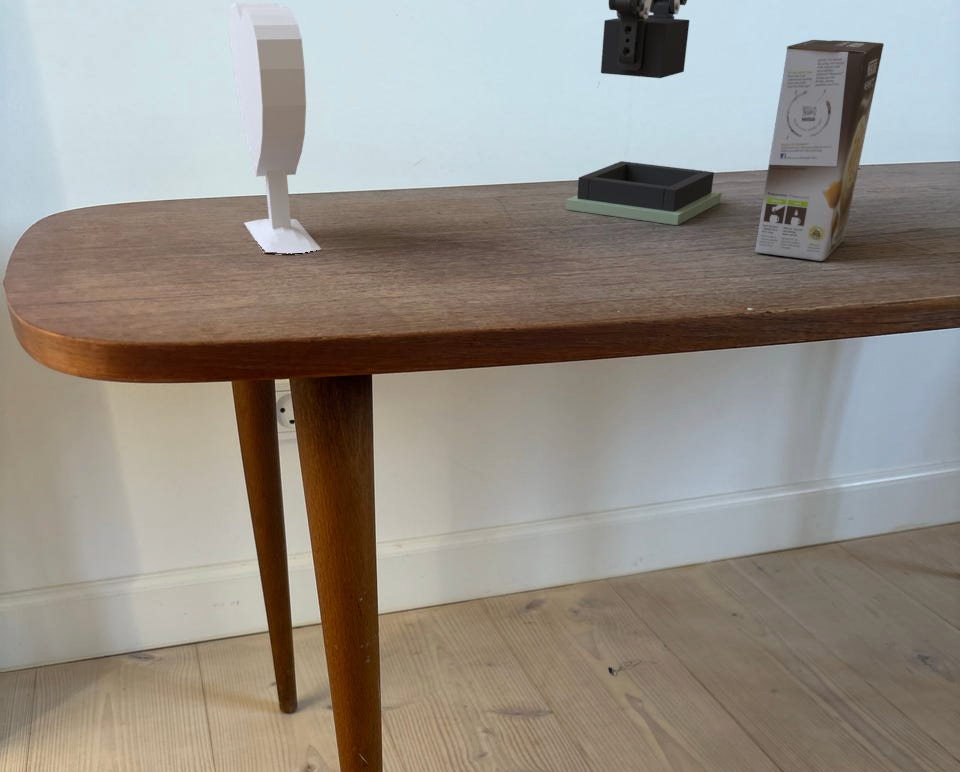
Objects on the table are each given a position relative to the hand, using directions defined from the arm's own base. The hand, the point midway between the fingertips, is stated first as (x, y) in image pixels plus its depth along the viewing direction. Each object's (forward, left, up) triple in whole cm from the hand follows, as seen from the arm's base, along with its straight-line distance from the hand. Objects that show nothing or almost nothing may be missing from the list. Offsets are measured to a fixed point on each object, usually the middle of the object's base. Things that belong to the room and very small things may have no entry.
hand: (643, 65), depth 92 cm
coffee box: (-16, -2, -14) cm, 21 cm away
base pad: (+3, -10, -14) cm, 17 cm away
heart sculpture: (+26, +20, -14) cm, 35 cm away
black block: (0, 0, 0) cm, 1 cm away
